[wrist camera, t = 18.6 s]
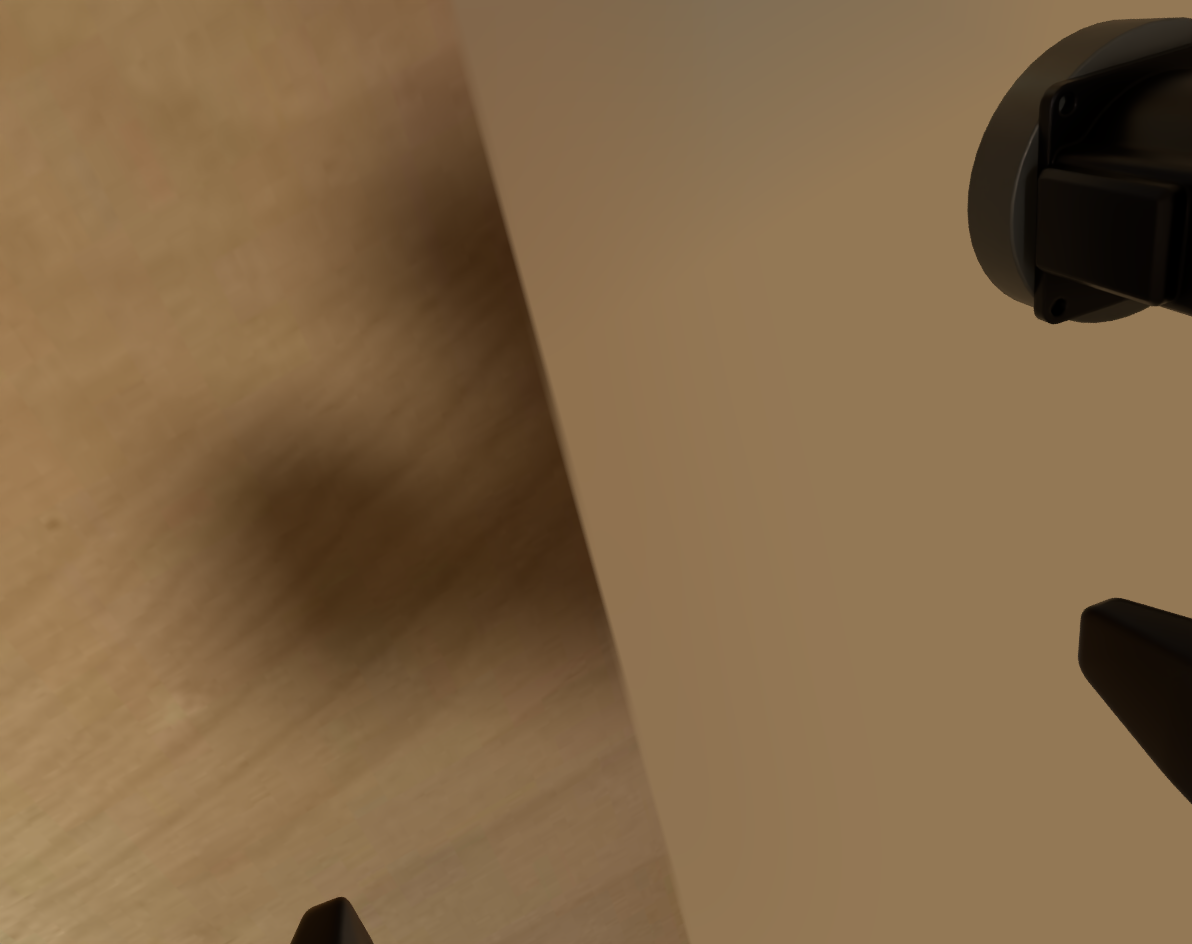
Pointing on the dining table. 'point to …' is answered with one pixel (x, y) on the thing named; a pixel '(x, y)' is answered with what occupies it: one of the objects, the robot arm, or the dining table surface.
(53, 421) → the dining table surface
